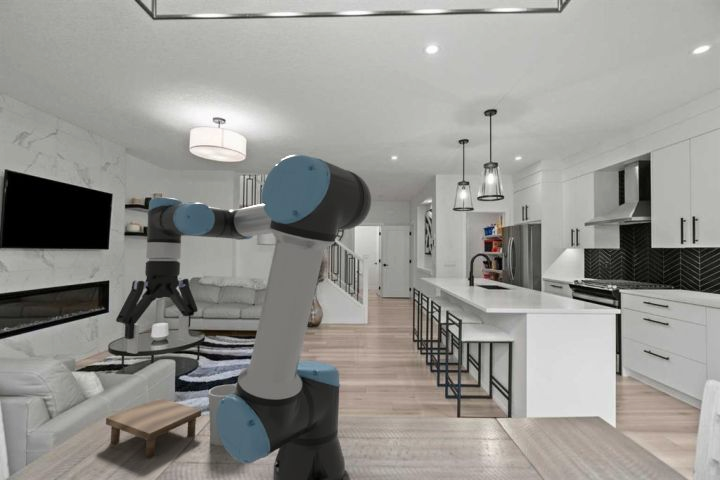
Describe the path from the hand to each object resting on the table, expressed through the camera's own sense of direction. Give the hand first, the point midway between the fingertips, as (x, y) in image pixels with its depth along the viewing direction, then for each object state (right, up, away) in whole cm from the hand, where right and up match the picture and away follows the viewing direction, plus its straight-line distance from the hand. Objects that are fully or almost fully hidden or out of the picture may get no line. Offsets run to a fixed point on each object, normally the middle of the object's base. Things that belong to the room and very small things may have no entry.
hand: (159, 346), depth 87 cm
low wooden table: (-2, -23, +1) cm, 23 cm away
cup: (+15, -24, +2) cm, 28 cm away
